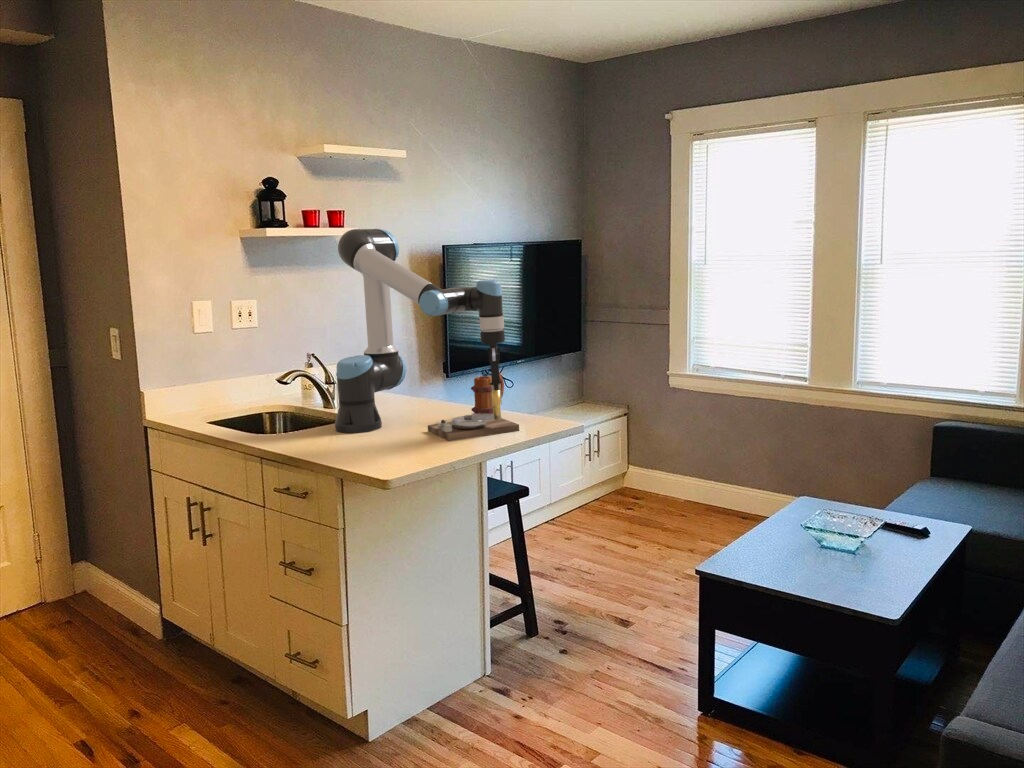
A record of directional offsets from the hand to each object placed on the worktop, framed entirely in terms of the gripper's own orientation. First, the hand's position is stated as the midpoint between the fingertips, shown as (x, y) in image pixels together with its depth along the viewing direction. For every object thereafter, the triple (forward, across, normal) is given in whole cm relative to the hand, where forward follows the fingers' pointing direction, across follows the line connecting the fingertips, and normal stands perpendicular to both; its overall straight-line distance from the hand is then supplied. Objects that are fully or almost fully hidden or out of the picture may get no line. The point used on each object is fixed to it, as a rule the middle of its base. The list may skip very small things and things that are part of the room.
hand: (497, 404), depth 261 cm
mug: (+9, -21, -3) cm, 23 cm away
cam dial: (+6, +3, -7) cm, 9 cm away
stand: (+8, 0, -8) cm, 12 cm away
